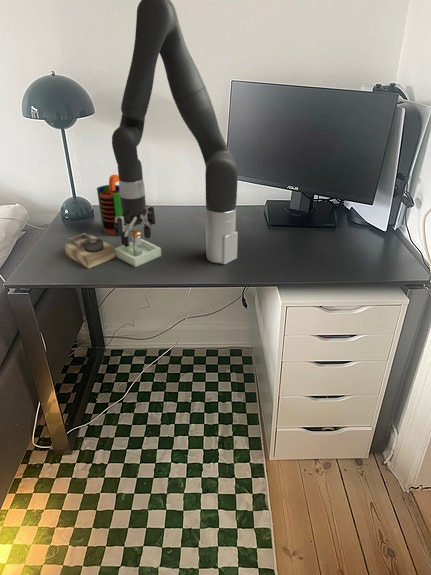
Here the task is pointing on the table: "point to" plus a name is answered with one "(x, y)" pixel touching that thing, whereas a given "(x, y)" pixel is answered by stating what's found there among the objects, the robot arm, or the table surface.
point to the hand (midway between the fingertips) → (137, 241)
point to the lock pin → (136, 242)
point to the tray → (147, 254)
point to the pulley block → (89, 250)
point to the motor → (110, 204)
